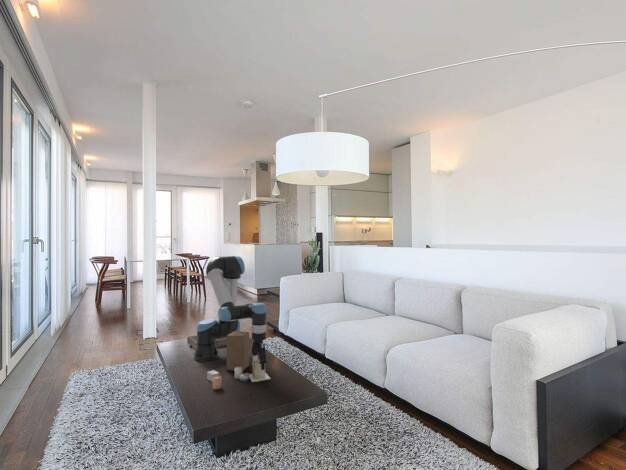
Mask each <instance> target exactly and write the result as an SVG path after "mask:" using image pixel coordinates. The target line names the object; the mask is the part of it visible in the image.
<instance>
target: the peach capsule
mask: <svg viewBox="0 0 626 470" xmlns="http://www.w3.org/2000/svg"><path fill="white" fill-rule="evenodd" d="M222 379H223V378H222V376H221V375H219V376H216V377H213V382H212V390H220V389H222V387H223V386H222V383H223V380H222Z"/></svg>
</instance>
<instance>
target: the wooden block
mask: <svg viewBox="0 0 626 470" xmlns="http://www.w3.org/2000/svg"><path fill="white" fill-rule="evenodd" d="M249 366H250V332H249V331H239V332H238V331H234V332H232V333H230V334H229V335H227V346H226V371H234V372H235V367H242V372H244V371H245V370H246V369H248V367H249Z"/></svg>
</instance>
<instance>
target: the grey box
mask: <svg viewBox="0 0 626 470" xmlns="http://www.w3.org/2000/svg"><path fill="white" fill-rule="evenodd" d="M206 373H207V374H206V379H207V380H208V381H210V382H211V383H213V377H216V376H220V372H219V371H217V370H216V369H213V370H209V371H206Z"/></svg>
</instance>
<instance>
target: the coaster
mask: <svg viewBox="0 0 626 470" xmlns="http://www.w3.org/2000/svg"><path fill="white" fill-rule="evenodd" d="M249 380H250V381H251V383H256V382H263V381H267V380H271V377H270V376H269V374H268V373H266V371H265V377H264V378H258V379H255V378H254V377H253V376H252V373H249Z"/></svg>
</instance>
